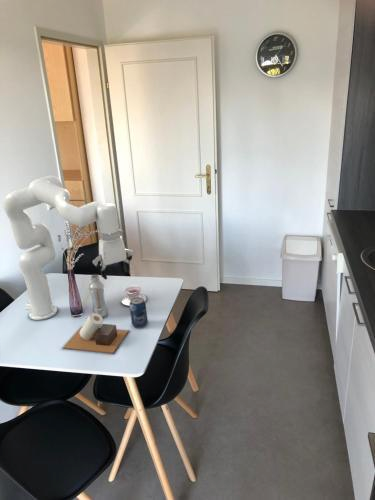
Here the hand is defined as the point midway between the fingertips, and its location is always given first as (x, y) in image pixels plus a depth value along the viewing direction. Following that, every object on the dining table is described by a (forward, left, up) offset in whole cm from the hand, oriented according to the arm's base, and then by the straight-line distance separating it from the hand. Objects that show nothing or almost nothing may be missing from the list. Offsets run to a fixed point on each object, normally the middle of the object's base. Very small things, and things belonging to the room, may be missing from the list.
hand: (116, 275), depth 171 cm
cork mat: (-8, -9, -26) cm, 29 cm away
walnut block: (-4, -9, -26) cm, 28 cm away
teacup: (-5, +26, -26) cm, 37 cm away
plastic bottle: (-15, +10, -26) cm, 32 cm away
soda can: (+6, +5, -26) cm, 27 cm away
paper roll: (-10, -9, -20) cm, 24 cm away
